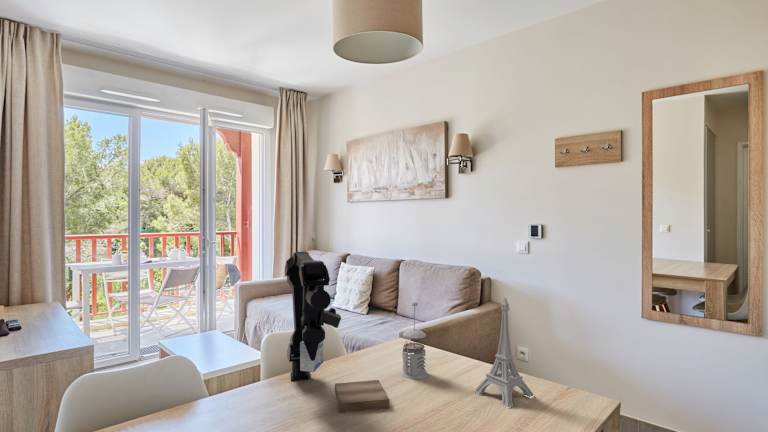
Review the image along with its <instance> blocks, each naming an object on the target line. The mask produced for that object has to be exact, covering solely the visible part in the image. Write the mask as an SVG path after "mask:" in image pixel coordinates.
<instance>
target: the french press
mask: <svg viewBox="0 0 768 432" xmlns="http://www.w3.org/2000/svg"><path fill="white" fill-rule="evenodd" d="M411 306H412V307H413V308H414V312H413V313H414V314H413V315H414V316H413V317H414V319H413V320H414V321H413V322H414V323H413V328H412V329H408V330H406V331H405V332H403V333H402V336H403V338H406V339H408V340H410V339H411V340H413V342H412V341H410V342H408V340H406V341H405V342H404V344H403V348H402V363H403V364H402V370H401V371H400V372H399V375H400V376H401V377H402V378H404V379H409V380H423V379H425V378H427V377H428V376H429V373H428V372H427V370H426V369H425V368H426V365H425V364H426V358H425V357H426V349H425V345H424V344H423V343H419V342H416V341H415V340H419V339H424V338H425V337H427V334H426V333H425V332H424V331H422V330H419V329H415V328H416V307H417V306H418V303H417V302H416V301H413V302H411Z"/></svg>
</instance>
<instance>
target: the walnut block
mask: <svg viewBox="0 0 768 432" xmlns="http://www.w3.org/2000/svg"><path fill="white" fill-rule="evenodd" d="M334 394H335V398H336V401H337V405H338V408H339V412H340V413H341V414H342V413H351V412H359V411H361V412H362V411H371V410H380V409H389V408H390V398H389V396H388V395H387V392H386V391H385V388H384V387H383V385H382V383H381V382H380V380H379V379H375V380H374V379H373V380H372V379H371V380H361V381H350V382H349V381H347V382H338V383H337V382H336V383H334Z"/></svg>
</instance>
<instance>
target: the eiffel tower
mask: <svg viewBox="0 0 768 432" xmlns="http://www.w3.org/2000/svg"><path fill="white" fill-rule="evenodd" d="M502 300H503V301H502V302H501V303H500V310H501V323H500V333H499V339H498V340H499V341H498V345H497V346H498V348H497V353H496V354H494V356H495V360H494V363H493V365H492V367H491V369H490V371H489V372H487V373H485V375H486V376H485V378H484V379H483V380H482V381H481V382H480V383H479V385H477V387H476V388H475V389H474V390H473V391H472V392H473V393H474V392H475V393H474V394H476V393H477V394H476V395H478V394H479V395H478V396H481V395H484V394H486V392H485V391H486V389H487V388H488V387H489V386H491V385H494V386H497V388H498V389H499V390H500V393H501V403H500V406H501V405H503V406H502V407H504V406H507V407H510V406H512V405H514V403H513V399H512V397H513V395H512V394H513V390H514V389H515V388H516V387H518V388H519V389H520V390H521V391H522V393H523V395H527V396H529V397H530V396H533V395H535V394H534V393H533V391H532V390H531V389H530V388H529V387H528V385H527V383H525V381H524V380H523V378H524V376H523V375H520V373H519V371H518V370H517V366H516V364H515V361H514V358H515V355H514V354H512V347H511V346H512V345H511V340H510V329H509V328H510V327H509V310H510V309H511V308H510V304H509V302H508V299H507V298H506V297H504V298H503V299H502ZM483 393H484V394H483ZM480 394H481V395H480Z"/></svg>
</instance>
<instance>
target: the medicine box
mask: <svg viewBox="0 0 768 432" xmlns="http://www.w3.org/2000/svg"><path fill="white" fill-rule="evenodd" d="M323 363H324V340H323V341H322V342H320V343H319V345H318V349H317V353H316V357H315V360H314V361H311V359H310V357H309V354H308V352H307V349H306V347H305V344H304V342H303V341H302V342H300V371H308V372H310V373H315V372H316V371H317V370H318V369H319V367H320V366H321V365H322V364H323Z"/></svg>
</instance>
